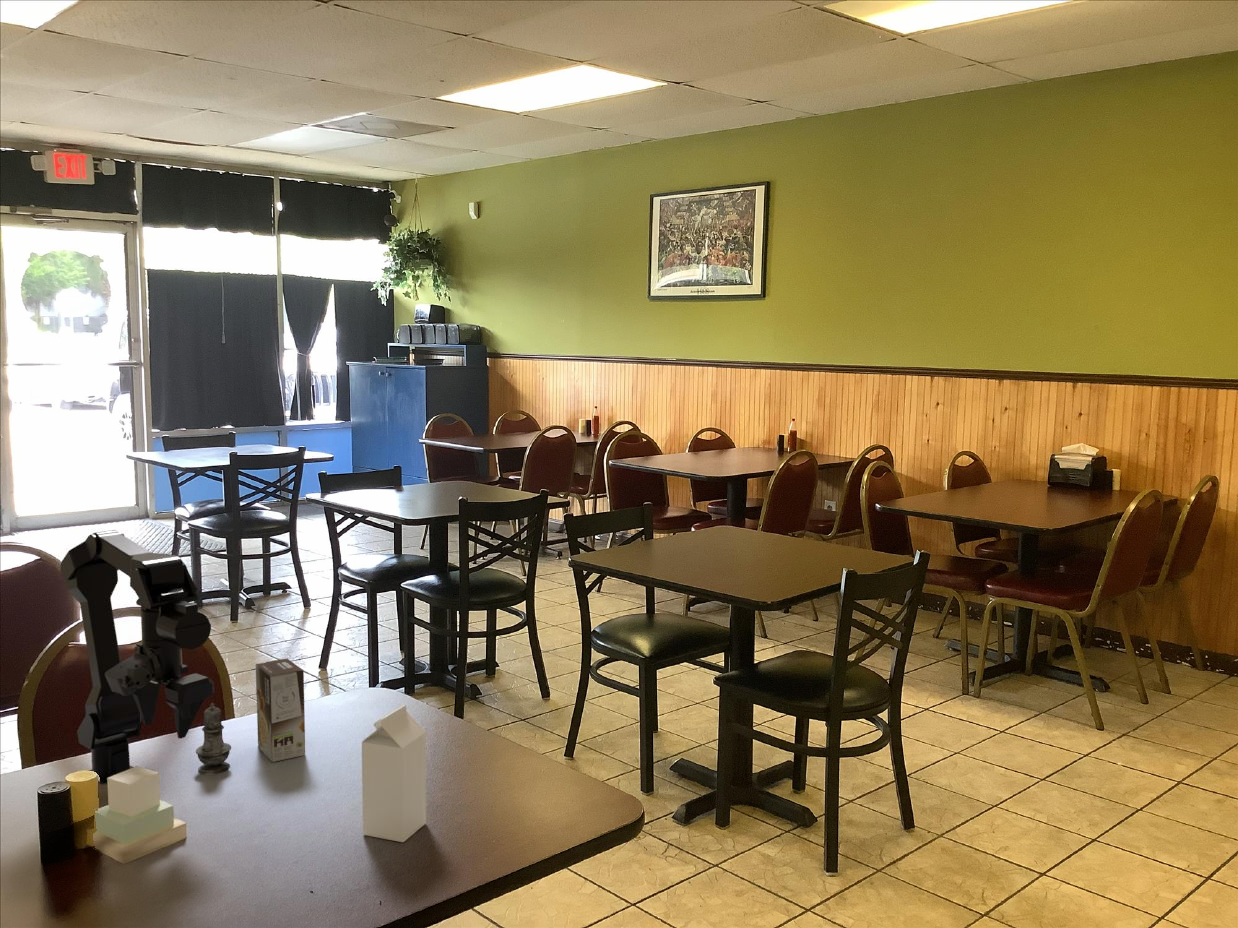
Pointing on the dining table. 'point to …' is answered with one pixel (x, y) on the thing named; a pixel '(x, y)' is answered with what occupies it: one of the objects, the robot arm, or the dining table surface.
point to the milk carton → (394, 777)
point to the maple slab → (140, 842)
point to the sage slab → (133, 822)
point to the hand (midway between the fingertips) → (164, 731)
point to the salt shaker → (213, 744)
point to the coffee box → (280, 709)
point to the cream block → (133, 791)
